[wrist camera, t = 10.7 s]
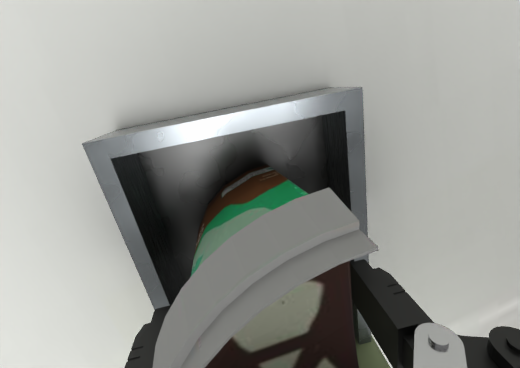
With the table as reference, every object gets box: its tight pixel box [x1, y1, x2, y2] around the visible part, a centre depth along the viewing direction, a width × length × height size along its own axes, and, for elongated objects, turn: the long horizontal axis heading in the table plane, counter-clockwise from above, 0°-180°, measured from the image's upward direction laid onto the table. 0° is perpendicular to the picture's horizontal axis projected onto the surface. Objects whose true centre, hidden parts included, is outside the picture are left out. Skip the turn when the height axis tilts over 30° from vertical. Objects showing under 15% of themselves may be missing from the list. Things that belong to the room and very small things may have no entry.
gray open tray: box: [82, 87, 371, 345], centre depth 15 cm, size 12×15×4 cm
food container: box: [153, 165, 378, 368], centre depth 11 cm, size 12×6×10 cm, turn 10°
